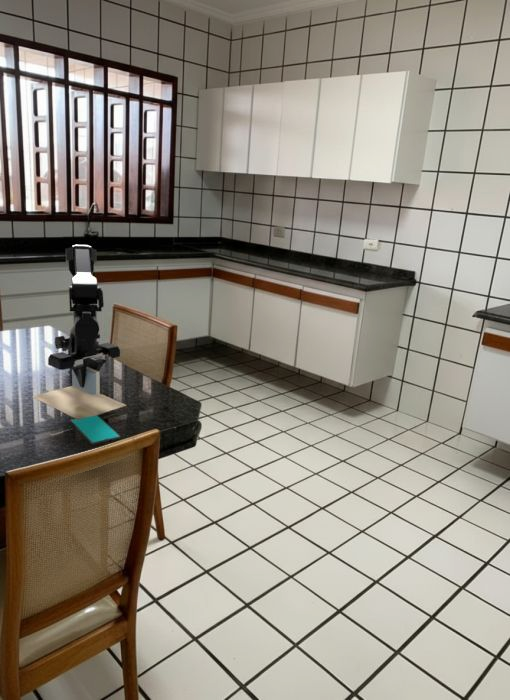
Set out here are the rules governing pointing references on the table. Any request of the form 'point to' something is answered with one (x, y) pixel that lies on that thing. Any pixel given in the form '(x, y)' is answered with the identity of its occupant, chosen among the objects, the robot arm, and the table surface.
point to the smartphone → (95, 429)
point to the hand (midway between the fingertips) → (86, 386)
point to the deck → (88, 381)
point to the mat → (78, 402)
